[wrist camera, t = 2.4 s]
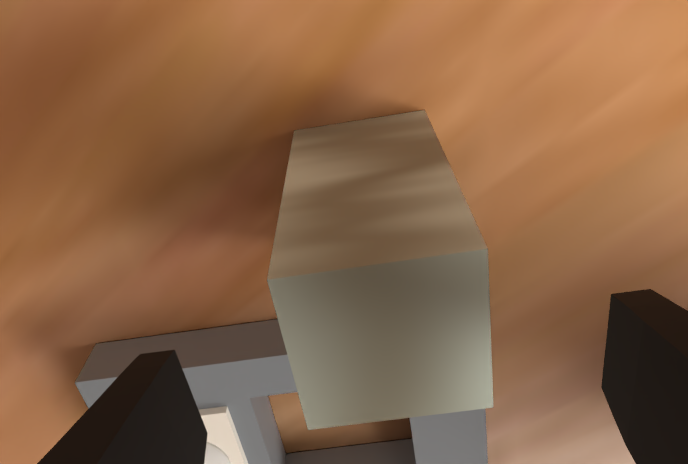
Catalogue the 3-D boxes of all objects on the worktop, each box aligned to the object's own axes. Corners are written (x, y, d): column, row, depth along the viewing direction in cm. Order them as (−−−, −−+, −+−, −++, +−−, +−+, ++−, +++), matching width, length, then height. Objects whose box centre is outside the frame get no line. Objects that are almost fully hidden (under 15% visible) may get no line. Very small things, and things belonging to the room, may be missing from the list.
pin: (424, 109, 17) (487, 248, 10) (434, 224, 19) (493, 407, 12) (294, 130, 17) (267, 279, 10) (317, 241, 19) (308, 429, 12)
